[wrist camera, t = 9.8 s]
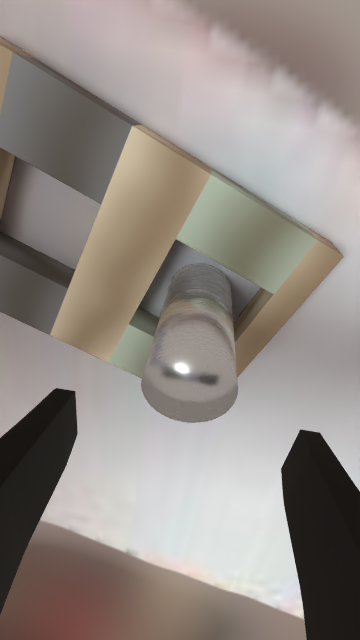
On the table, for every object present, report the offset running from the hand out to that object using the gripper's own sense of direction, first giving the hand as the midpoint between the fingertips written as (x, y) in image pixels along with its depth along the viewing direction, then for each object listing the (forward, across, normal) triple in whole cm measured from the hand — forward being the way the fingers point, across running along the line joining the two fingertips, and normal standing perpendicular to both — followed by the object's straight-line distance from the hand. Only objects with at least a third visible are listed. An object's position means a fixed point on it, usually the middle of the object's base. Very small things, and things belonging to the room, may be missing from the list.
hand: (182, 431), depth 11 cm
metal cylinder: (+10, 0, 0) cm, 10 cm away
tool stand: (+10, +4, -2) cm, 11 cm away
